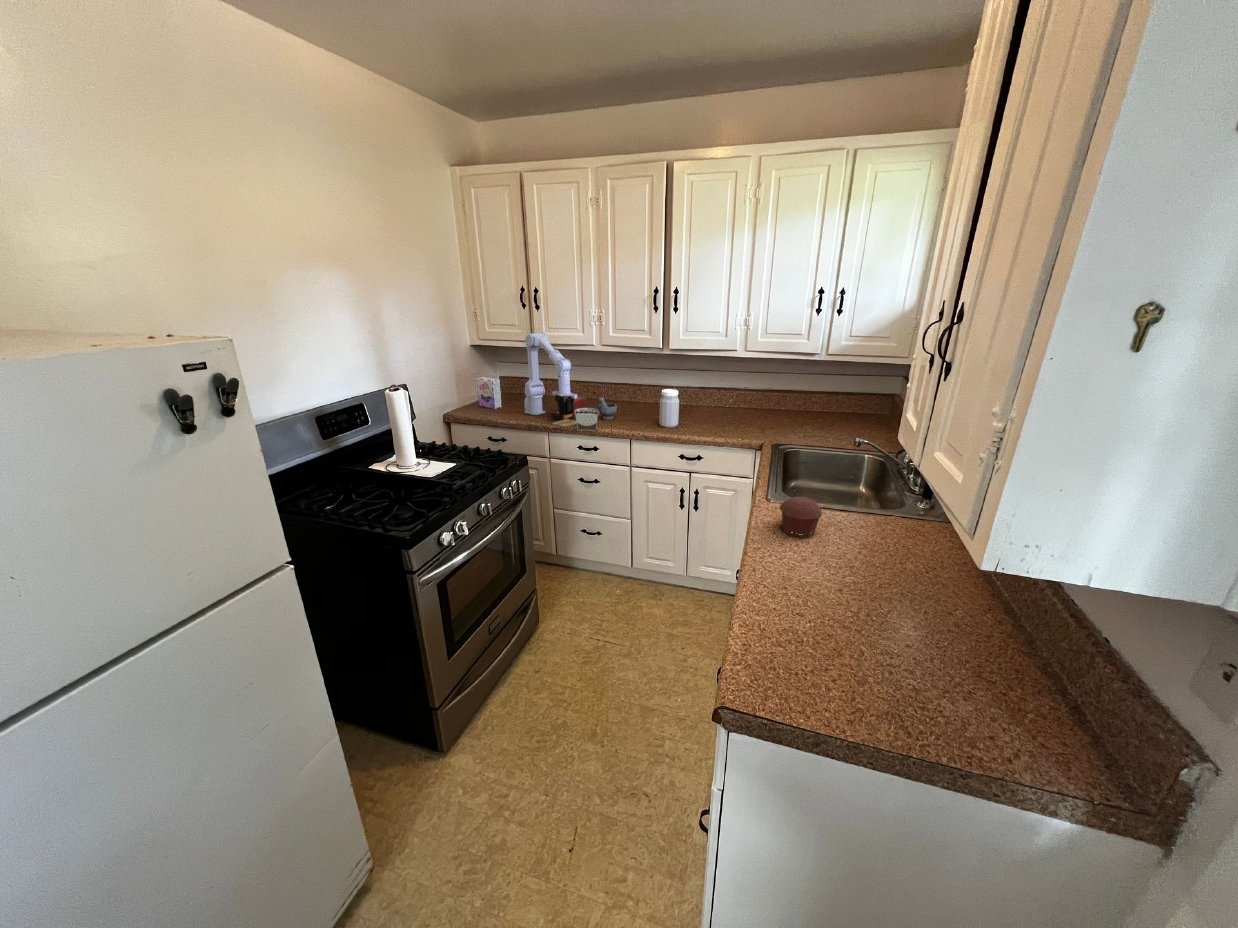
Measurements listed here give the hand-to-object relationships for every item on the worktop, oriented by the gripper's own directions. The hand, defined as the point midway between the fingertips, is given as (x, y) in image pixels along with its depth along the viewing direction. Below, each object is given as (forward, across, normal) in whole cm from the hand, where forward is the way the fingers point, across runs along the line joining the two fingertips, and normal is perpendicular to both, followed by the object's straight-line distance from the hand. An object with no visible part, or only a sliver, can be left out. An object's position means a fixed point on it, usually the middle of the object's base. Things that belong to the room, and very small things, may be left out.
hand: (565, 410), depth 244 cm
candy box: (+7, -59, +3) cm, 59 cm away
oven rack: (+6, -8, +7) cm, 12 cm away
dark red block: (+7, -8, +16) cm, 19 cm away
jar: (+7, +46, +26) cm, 53 cm away
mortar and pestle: (+7, +12, +20) cm, 24 cm away
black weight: (+2, 0, 0) cm, 2 cm away
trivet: (+7, 0, 0) cm, 7 cm away
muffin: (+7, +129, -50) cm, 139 cm away
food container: (+7, +15, -1) cm, 17 cm away
